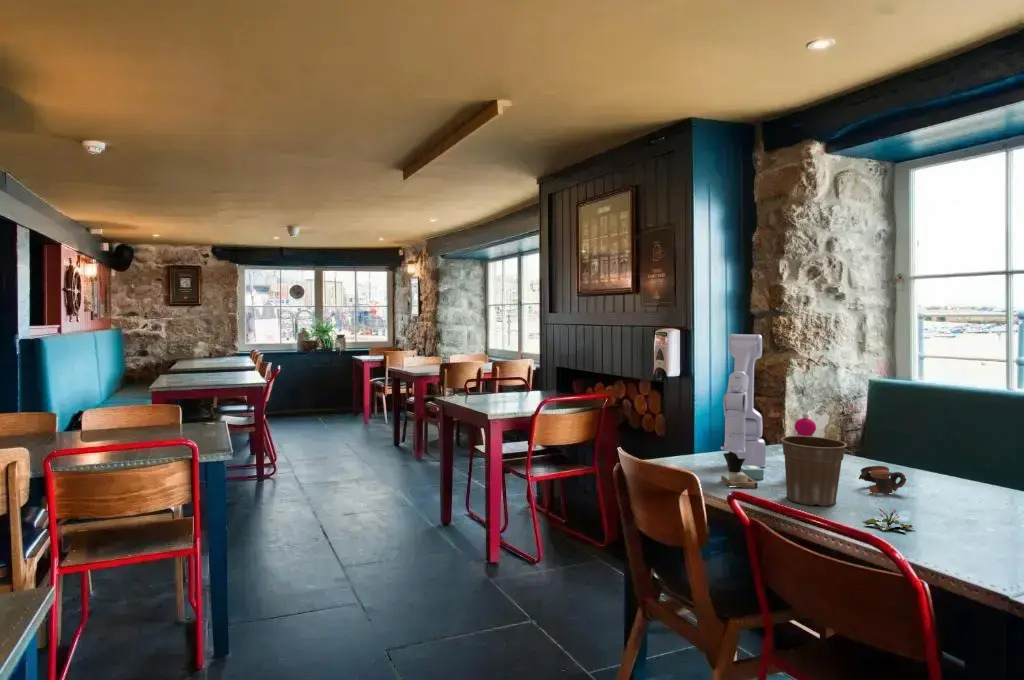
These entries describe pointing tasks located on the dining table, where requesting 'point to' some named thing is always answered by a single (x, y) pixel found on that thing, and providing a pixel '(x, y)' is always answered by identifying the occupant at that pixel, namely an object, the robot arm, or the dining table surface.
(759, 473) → the teal toy building
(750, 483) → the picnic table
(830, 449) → the plant pot
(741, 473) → the stub
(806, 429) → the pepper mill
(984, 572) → the dining table surface
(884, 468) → the pottery mug
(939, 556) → the dining table surface
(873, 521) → the lily flower
